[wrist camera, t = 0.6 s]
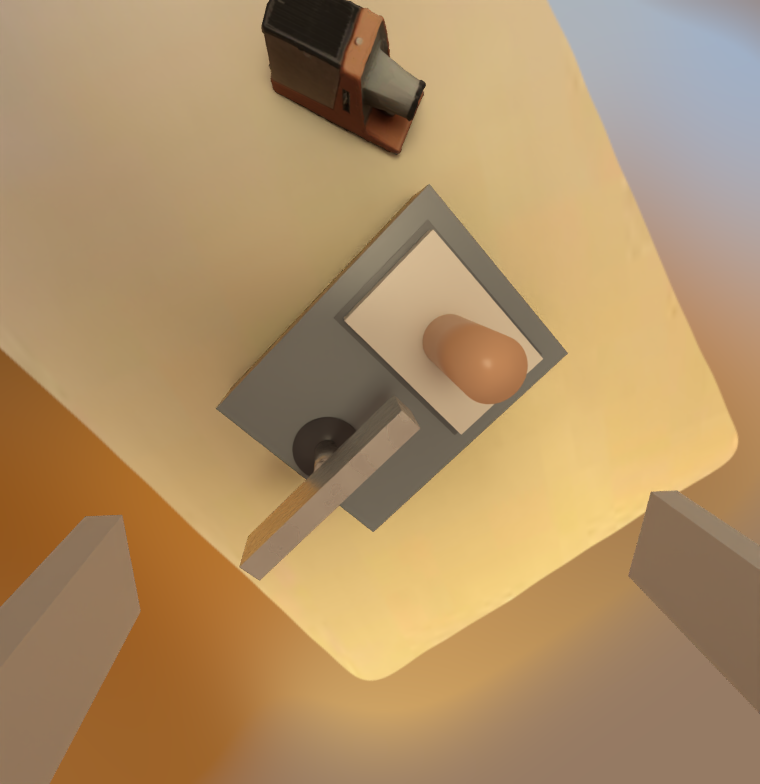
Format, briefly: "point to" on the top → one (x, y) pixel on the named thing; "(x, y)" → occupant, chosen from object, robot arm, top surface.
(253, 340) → the top surface
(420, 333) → the cover
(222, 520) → the top surface
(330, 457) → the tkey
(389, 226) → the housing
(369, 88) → the electronic device
